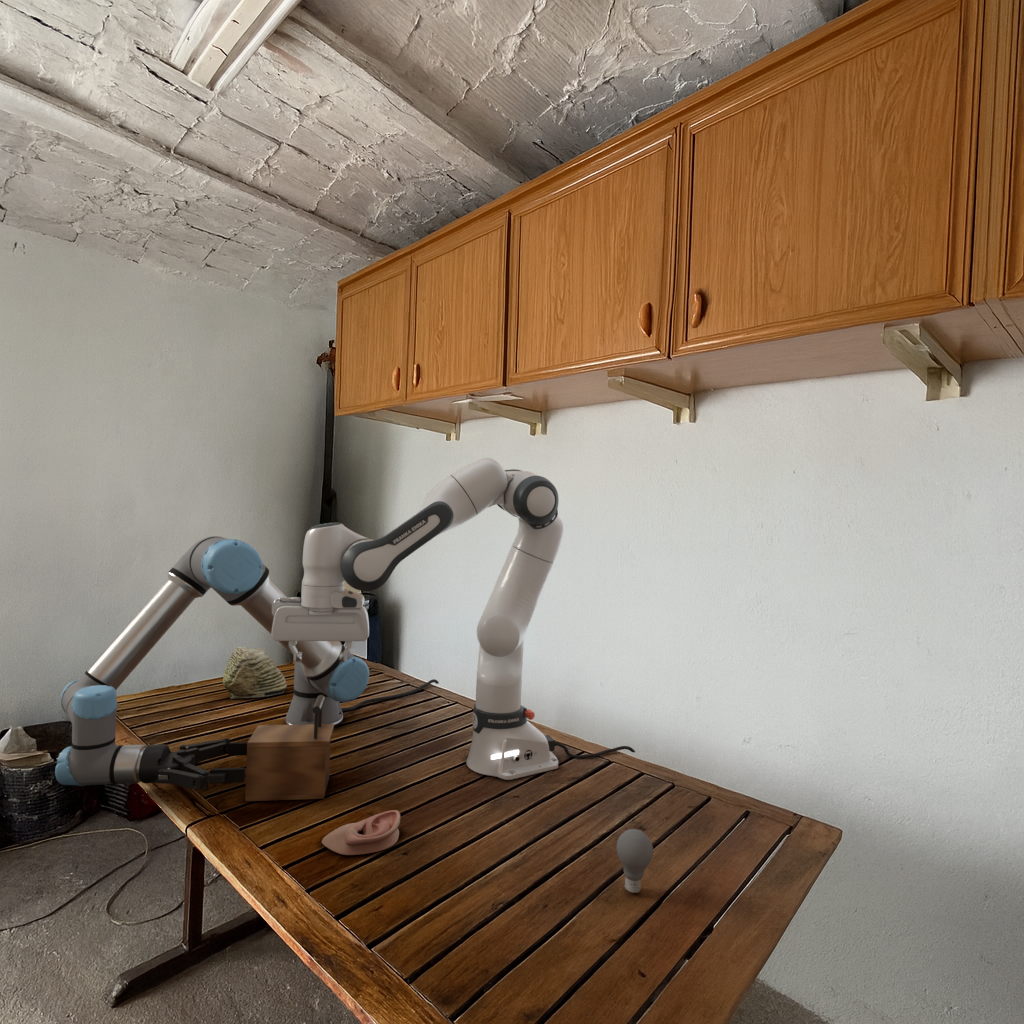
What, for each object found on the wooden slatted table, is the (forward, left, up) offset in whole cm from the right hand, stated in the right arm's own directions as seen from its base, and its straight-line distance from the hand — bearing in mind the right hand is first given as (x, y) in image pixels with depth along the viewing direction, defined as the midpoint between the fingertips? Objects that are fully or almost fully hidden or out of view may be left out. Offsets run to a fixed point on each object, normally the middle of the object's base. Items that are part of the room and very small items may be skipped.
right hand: (320, 661), depth 137 cm
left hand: (+13, -2, -21) cm, 25 cm away
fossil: (+13, -70, -28) cm, 77 cm away
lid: (+5, -1, -17) cm, 17 cm away
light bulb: (-47, +53, -28) cm, 76 cm away
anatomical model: (-6, +24, -28) cm, 37 cm away
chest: (+5, -1, -28) cm, 28 cm away
